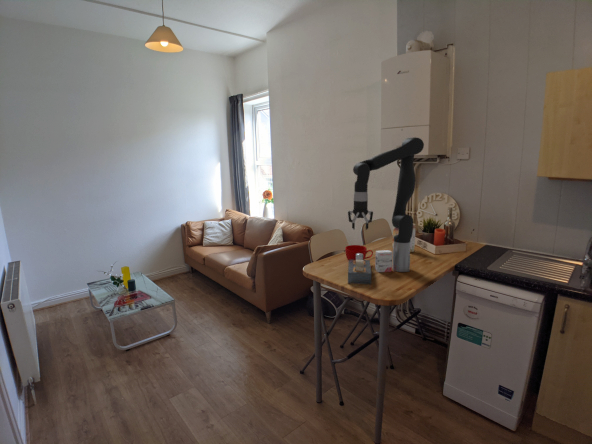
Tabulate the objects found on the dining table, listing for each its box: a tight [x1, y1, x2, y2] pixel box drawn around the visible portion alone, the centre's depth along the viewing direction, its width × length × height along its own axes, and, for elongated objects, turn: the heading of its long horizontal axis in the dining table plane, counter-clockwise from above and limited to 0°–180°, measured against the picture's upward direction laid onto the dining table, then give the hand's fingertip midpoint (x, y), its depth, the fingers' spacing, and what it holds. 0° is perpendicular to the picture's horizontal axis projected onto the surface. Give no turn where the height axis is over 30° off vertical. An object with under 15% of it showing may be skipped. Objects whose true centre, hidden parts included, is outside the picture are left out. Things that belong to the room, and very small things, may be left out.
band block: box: [347, 259, 372, 285], centre depth 183 cm, size 22×12×6 cm, turn 170°
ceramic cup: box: [344, 244, 374, 262], centre depth 203 cm, size 13×17×10 cm
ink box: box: [374, 249, 393, 273], centre depth 190 cm, size 8×5×12 cm, turn 96°
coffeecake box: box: [391, 223, 416, 253], centre depth 230 cm, size 15×7×20 cm, turn 25°
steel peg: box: [356, 253, 363, 260], centre depth 187 cm, size 4×4×6 cm
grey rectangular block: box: [356, 259, 365, 271], centre depth 176 cm, size 4×4×6 cm
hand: (360, 229), depth 184 cm, fingers open, 6 cm apart
